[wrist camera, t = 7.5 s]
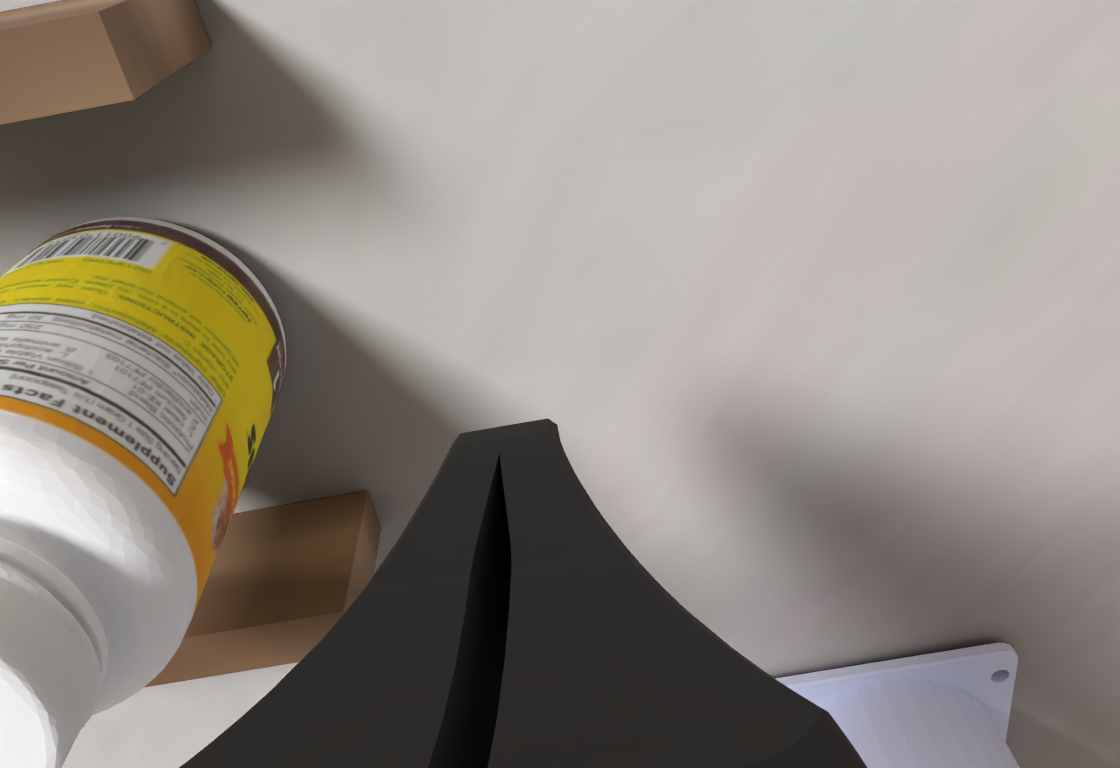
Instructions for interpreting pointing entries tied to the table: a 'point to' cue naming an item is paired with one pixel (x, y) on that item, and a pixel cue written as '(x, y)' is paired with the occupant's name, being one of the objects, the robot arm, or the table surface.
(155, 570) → the supplement bottle
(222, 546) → the brown piece
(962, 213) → the table surface
